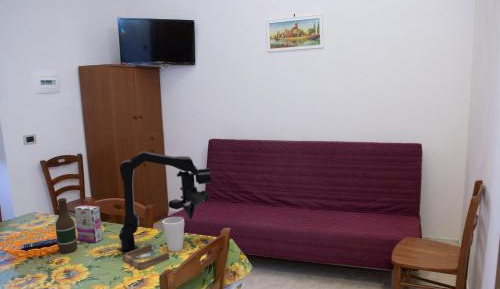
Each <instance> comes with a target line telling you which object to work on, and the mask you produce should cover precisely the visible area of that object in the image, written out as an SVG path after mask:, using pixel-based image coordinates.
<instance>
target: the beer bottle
mask: <svg viewBox="0 0 500 289" xmlns="http://www.w3.org/2000/svg"><path fill="white" fill-rule="evenodd" d="M57 204H58V206H57V207H58V218H57V219H56V222H55V232H56V233H55V234H56V242H57V248H59V250H58V252H59V253H60V254H61V255H68V254H72V253H74V252H75V251H77V250H78V238H77V232H76V231H77V230H76V223H75V221H74V219H73V218H72V217H71V215H70V213H69V209H68V205H67V204H68V203H67V198H66V197H62V198H58V199H57Z"/></svg>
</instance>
